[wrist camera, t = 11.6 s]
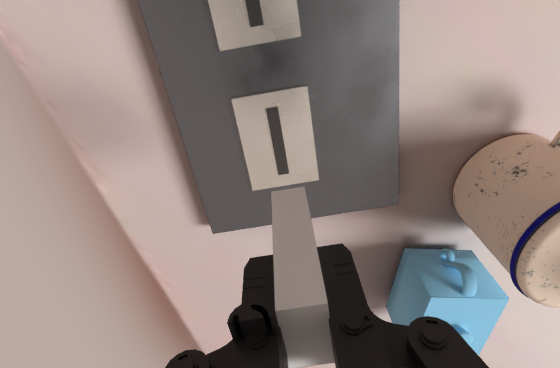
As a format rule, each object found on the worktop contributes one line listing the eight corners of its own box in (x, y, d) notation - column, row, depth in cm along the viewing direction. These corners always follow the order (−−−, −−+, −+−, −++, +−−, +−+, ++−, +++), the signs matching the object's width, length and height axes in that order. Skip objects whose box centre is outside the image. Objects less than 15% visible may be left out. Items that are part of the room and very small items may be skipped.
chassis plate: (57, -275, 16) (37, -301, 14) (391, -352, 15) (403, -386, 14) (214, 225, 29) (212, 236, 28) (393, 196, 29) (400, 206, 27)
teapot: (432, 322, 37) (469, 396, 30) (375, 321, 36) (400, 395, 30) (471, 230, 31) (528, 295, 24) (404, 227, 30) (443, 293, 24)
